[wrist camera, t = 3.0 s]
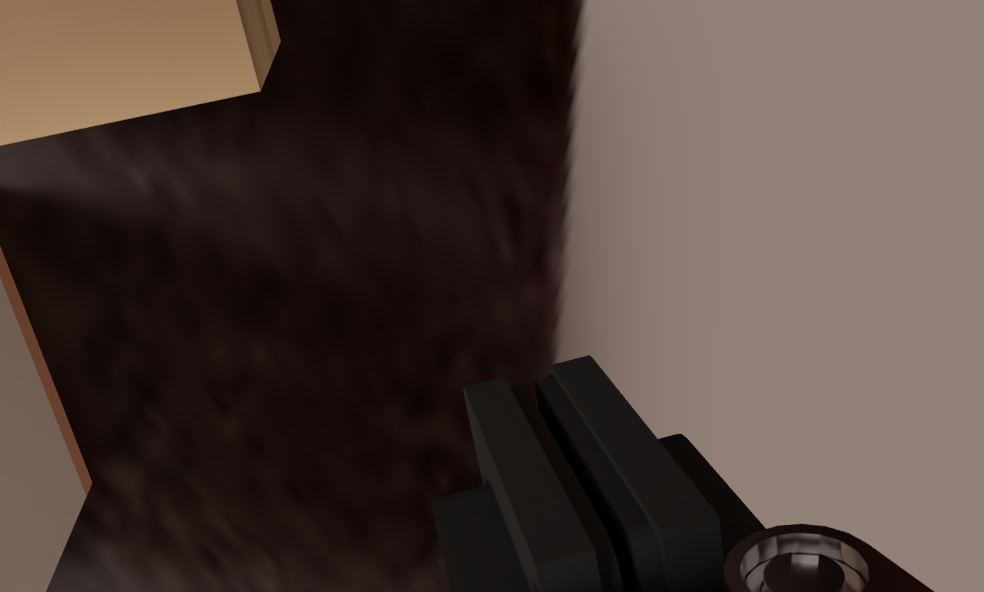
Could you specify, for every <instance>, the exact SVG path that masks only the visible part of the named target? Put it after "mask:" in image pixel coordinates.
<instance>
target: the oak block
mask: <svg viewBox="0 0 984 592" xmlns="http://www.w3.org/2000/svg"><path fill="white" fill-rule="evenodd" d="M280 42H281V40H280V36H279V32H278V28H277V24H276V20H275V16H274V13H273V9H272V5H271V1H270V0H0V145H5V144H10V143H15V142H20V141H24V140H29V139H34V138H39V137H44V136H48V135H53V134H58V133H63V132H68V131H72V130H77V129H82V128H87V127H92V126H96V125H101V124H106V123H111V122H116V121H120V120H125V119H130V118H135V117H140V116H144V115H149V114H154V113H159V112H163V111H168V110H173V109H178V108H183V107H187V106H192V105H197V104H202V103H207V102H211V101H216V100H221V99H226V98H231V97H235V96H240V95H245V94H250V93H255V92H259V91H261V89H262V86H263V84H264V81H265V79H266V76H267V74H268V71H269V69H270V67H271V64H272V62H273V59H274V57H275V54H276V52H277V49H278V47H279V44H280Z"/></svg>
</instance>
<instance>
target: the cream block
mask: <svg viewBox="0 0 984 592" xmlns="http://www.w3.org/2000/svg"><path fill="white" fill-rule="evenodd" d="M91 485H92V481H91V478H90V475H89V473H88V470H87V468H86V465H85V463H84V460H83V457H82V455H81V452H80V450H79V447H78V445H77V442H76V439H75V437H74V434H73V432H72V429H71V427H70V424H69V421H68V419H67V416H66V414H65V411H64V409H63V406H62V403H61V401H60V398H59V396H58V393H57V391H56V388H55V385H54V383H53V380H52V378H51V375H50V373H49V370H48V367H47V365H46V362H45V360H44V357H43V355H42V352H41V349H40V347H39V344H38V342H37V339H36V337H35V334H34V331H33V329H32V326H31V324H30V321H29V319H28V316H27V313H26V311H25V308H24V306H23V303H22V301H21V298H20V295H19V293H18V290H17V288H16V285H15V283H14V280H13V277H12V275H11V272H10V270H9V267H8V265H7V262H6V259H5V257H4V254H3V252H2V249H1V247H0V592H46V590H47V588H48V585H49V583H50V581H51V578H52V576H53V574H54V571H55V569H56V567H57V564H58V562H59V560H60V557H61V555H62V553H63V550H64V548H65V546H66V543H67V541H68V539H69V536H70V534H71V532H72V529H73V527H74V525H75V522H76V520H77V518H78V515H79V513H80V511H81V508H82V506H83V504H84V501H85V499H86V497H87V494H88V492H89V490H90V487H91Z"/></svg>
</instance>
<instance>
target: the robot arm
mask: <svg viewBox="0 0 984 592" xmlns="http://www.w3.org/2000/svg"><path fill="white" fill-rule="evenodd" d="M535 388H536V395H537V400H538V405H539V410H538V408H537V406H536V405H535V403H534V401H533V399H532V397H531V396H530V394H529V392H528V390H527V389H526V387H525V385H524V384H520V385H516V386H512V387H510V386H509V384H508V382H507V380H506V378H505V377H502V378H498V379H494V380H490V381H486V382H482V383H478V384H474V385H470V386H466V387H463V392H464V398H465V403H466V408H467V412H468V417H469V421H470V426H471V431H472V435H473V440H474V444H475V449H476V454H477V458H478V463H479V467H480V472H481V477H482V481H483V486H479V487H476V488H472V489H468V490H464V491H461V492H457V493H453V494H449V495H446V496H442V497H438V498H434V499H430V504H431V508H432V512H433V517H434V521H435V525H436V529H437V533H438V538H439V542H440V546H441V550H442V554H443V559H444V563H445V567H446V571H447V575H448V579H449V584H450V588H451V592H934V591H933V590H931V589H930V588H929V587H927V586H926V585H924V584H923V583H922V582H920V581H919V580H917V579H916V578H915V577H913V576H912V575H910V574H909V573H908V572H906V571H905V570H904V569H902V568H901V567H899V566H898V565H897V564H895V563H894V562H892V561H891V560H890V559H888V558H887V557H885V556H884V555H882V554H881V553H880V552H879V551H877V550H876V549H874V548H873V547H872V546H870V545H869V544H867V543H866V542H864V541H862V540H860V539H858V538H856V537H855V536H853V535H851V534H849V533H847V532H844V531H840V530H837V529H833V528H830V527H826V526H818V525H808V524H793V525H780V526H775V527H772V528H768V529H766V528H765V527H764V526H763V525H762V524H761V523H760V521H759V520H758V519H757V518H756V517H755V516H754V514H752V512H751V511H750V510H749V509H748V508H747V506H745V504H744V503H743V502H742V501H741V500H740V498H739V497H738V496H737V495H736V494H735V493H734V492H733V490H732V489H731V488H730V487H729V486H728V485H727V483H726V482H725V481H724V480H723V479H722V478H721V477H720V476H719V474H718V473H717V472H716V471H715V470H714V469H713V467H712V466H711V465H710V464H709V463H708V462H707V461H706V459H705V458H704V457H703V456H702V455H701V454H700V453H699V452H698V450H697V449H696V448H695V447H694V446H693V445H692V443H691V442H690V441H689V440H688V439H687V438H686V437H684V435H682V434H675V435H672V436H668V437H664V438H661V439H657V438H656V436H655V435H654V434H653V433H652V431H651V430H650V429H649V428H648V427H647V425H646V424H645V423H644V421H643V420H642V419H641V418H640V416H639V415H638V414H637V413H636V412H635V410H634V409H633V408H632V407H631V405H630V404H629V403H628V402H627V400H626V399H625V398H624V397H623V395H622V394H621V393H620V392H619V390H618V389H617V388H616V387H615V385H614V384H613V383H612V382H611V380H610V379H609V378H608V377H607V375H606V374H605V373H604V372H603V370H602V369H601V368H600V367H599V365H598V364H597V363H596V362H595V360H594V359H593V358H592V357H591V356H590V355H589V356H585V357H581V358H577V359H573V360H569V361H566V362H561V363H557V364H553V365H550V366H548V377H547V378H543V379H539V380H536V381H535ZM539 411H540V412H539Z"/></svg>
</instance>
